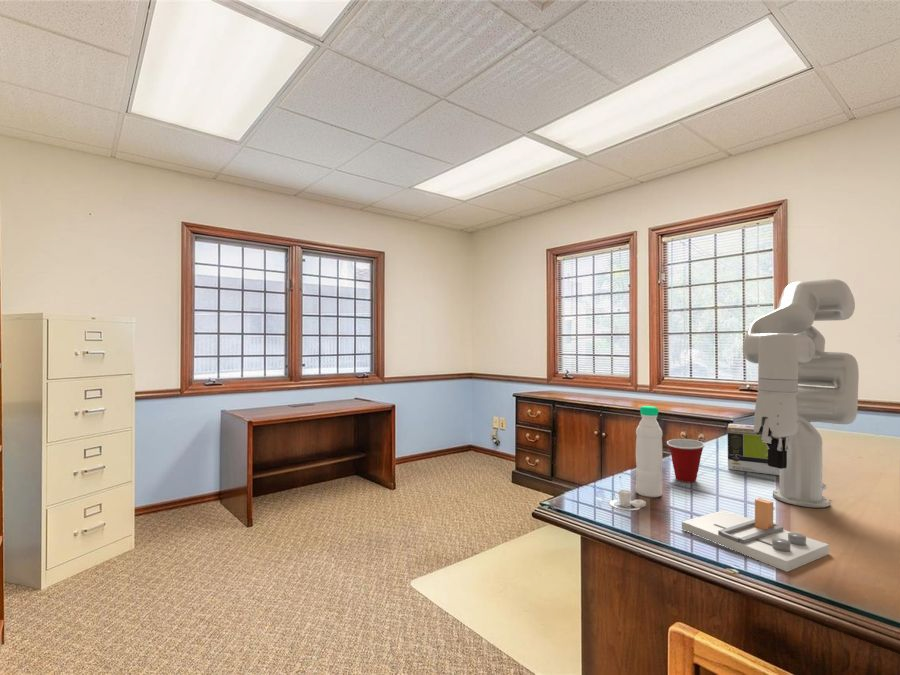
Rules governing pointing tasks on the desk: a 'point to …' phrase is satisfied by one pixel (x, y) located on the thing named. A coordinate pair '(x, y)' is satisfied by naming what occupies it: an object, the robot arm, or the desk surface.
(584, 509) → the desk surface
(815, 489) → the robot arm
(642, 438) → the water bottle
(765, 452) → the tea box
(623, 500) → the white ring with post
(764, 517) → the block
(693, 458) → the plastic cup
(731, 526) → the console
